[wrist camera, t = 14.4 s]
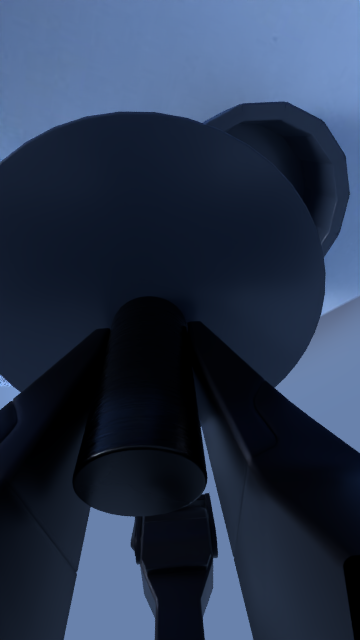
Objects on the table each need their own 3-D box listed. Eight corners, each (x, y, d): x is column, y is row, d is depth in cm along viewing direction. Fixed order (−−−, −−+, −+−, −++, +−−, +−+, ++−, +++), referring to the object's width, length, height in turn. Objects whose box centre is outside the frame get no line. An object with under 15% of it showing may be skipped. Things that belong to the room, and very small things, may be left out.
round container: (295, 270, 22) (322, 297, 18) (164, 278, 22) (165, 307, 18) (327, 106, 17) (376, 96, 13) (151, 114, 16) (149, 107, 13)
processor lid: (283, 403, 13) (360, 568, 8) (43, 423, 13) (-32, 605, 8) (351, 99, 7) (841, 8, 2) (-109, 129, 7) (-880, 112, 2)
